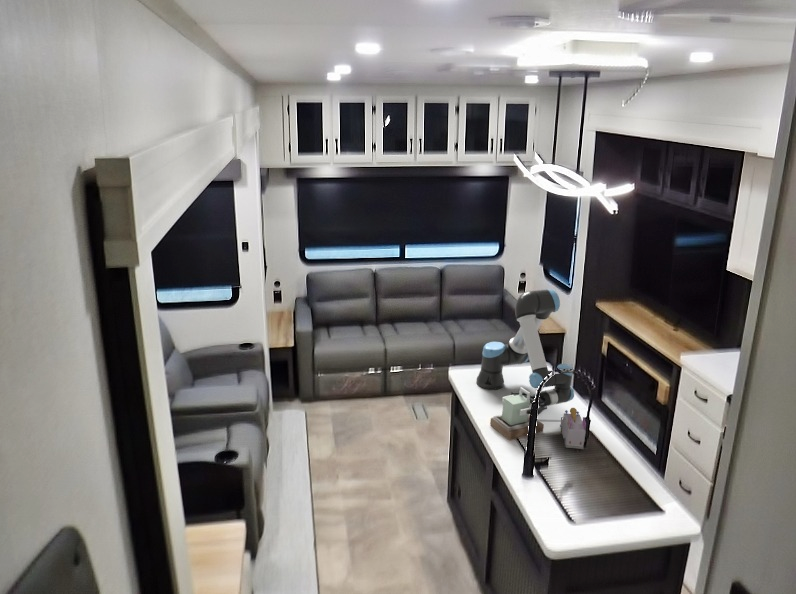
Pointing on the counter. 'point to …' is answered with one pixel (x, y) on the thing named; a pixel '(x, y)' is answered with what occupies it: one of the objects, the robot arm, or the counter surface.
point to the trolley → (515, 408)
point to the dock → (513, 428)
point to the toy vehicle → (573, 429)
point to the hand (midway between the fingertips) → (511, 406)
